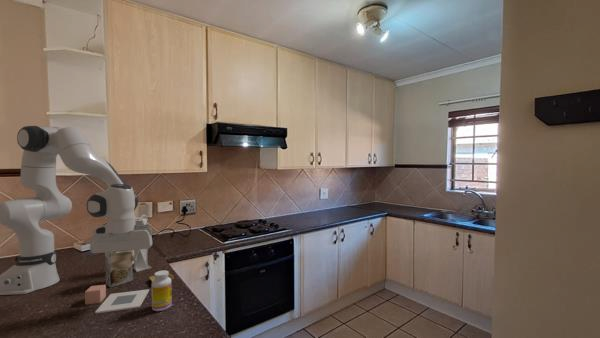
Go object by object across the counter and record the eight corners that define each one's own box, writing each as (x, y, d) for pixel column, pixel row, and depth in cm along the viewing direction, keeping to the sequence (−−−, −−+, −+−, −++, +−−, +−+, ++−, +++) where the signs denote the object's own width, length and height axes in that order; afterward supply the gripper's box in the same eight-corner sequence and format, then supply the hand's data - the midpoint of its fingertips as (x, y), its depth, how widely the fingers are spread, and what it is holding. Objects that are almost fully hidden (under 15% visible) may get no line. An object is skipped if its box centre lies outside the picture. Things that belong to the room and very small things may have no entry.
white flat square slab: (95, 313, 96) (95, 311, 96) (110, 295, 110) (110, 293, 110) (139, 307, 100) (139, 305, 100) (149, 290, 114) (149, 289, 114)
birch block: (111, 270, 101) (110, 256, 100) (117, 264, 106) (116, 251, 106) (129, 268, 102) (128, 254, 102) (134, 262, 108) (134, 250, 108)
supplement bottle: (173, 308, 99) (172, 273, 99) (152, 314, 96) (152, 278, 96) (170, 300, 105) (170, 268, 105) (151, 305, 101) (150, 271, 101)
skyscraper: (153, 269, 138) (152, 214, 137) (135, 274, 132) (134, 216, 131) (147, 265, 144) (146, 212, 143) (129, 269, 138) (128, 214, 137)
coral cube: (85, 304, 103) (84, 291, 102) (91, 298, 107) (91, 286, 107) (100, 302, 104) (100, 290, 104) (105, 296, 109) (105, 284, 109)
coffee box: (128, 277, 127) (127, 243, 127) (133, 280, 123) (132, 245, 123) (105, 283, 120) (104, 247, 120) (110, 288, 116) (109, 250, 116)
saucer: (169, 276, 129) (169, 271, 129) (174, 282, 123) (174, 277, 123) (148, 281, 123) (148, 276, 123) (153, 287, 117) (153, 283, 117)
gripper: (154, 222, 110) (154, 256, 110) (95, 226, 104) (96, 262, 105) (150, 225, 104) (150, 261, 104) (87, 230, 98) (88, 268, 99)
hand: (123, 261), depth 104 cm, fingers closed on birch block, 6 cm apart
